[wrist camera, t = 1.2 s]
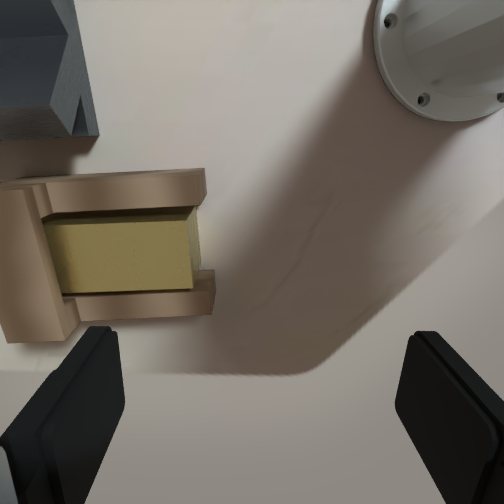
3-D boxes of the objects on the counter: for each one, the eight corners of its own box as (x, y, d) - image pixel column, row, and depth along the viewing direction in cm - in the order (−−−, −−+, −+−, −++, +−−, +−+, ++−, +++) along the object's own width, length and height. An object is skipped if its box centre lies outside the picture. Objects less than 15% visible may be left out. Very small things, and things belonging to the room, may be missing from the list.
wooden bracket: (204, 168, 26) (191, 180, 20) (216, 290, 30) (208, 333, 24) (22, 177, 26) (-46, 193, 20) (56, 298, 30) (7, 343, 24)
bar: (196, 204, 27) (186, 220, 23) (201, 262, 29) (193, 288, 24) (46, 209, 27) (5, 227, 23) (60, 267, 29) (25, 294, 24)
